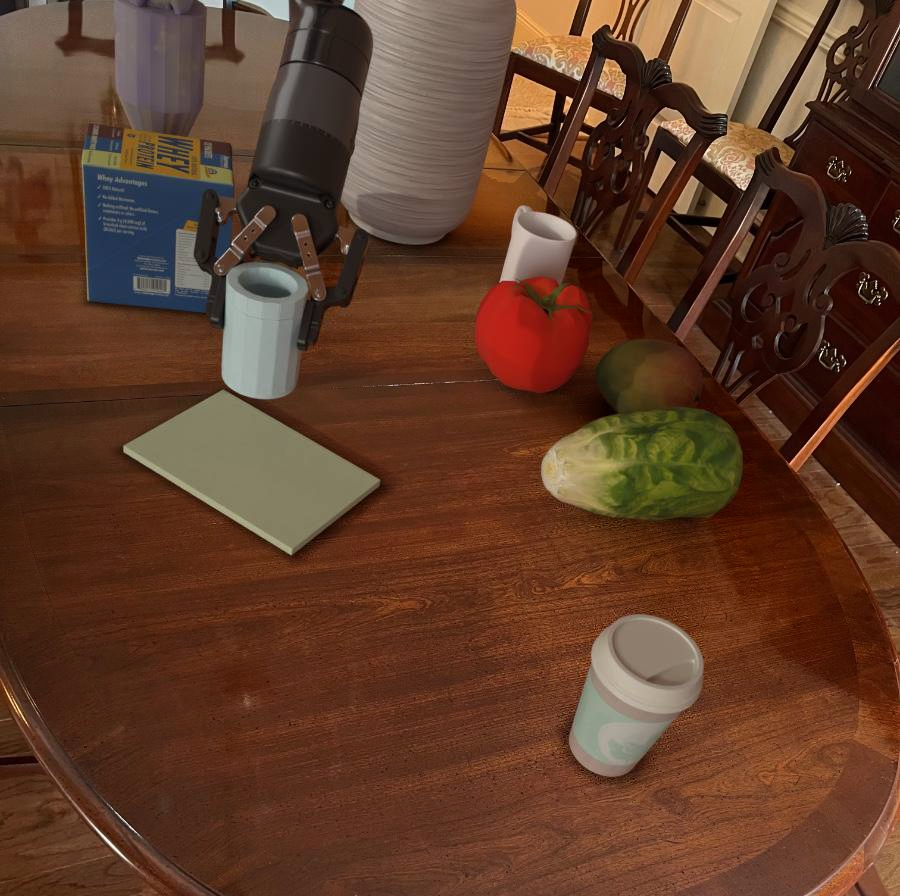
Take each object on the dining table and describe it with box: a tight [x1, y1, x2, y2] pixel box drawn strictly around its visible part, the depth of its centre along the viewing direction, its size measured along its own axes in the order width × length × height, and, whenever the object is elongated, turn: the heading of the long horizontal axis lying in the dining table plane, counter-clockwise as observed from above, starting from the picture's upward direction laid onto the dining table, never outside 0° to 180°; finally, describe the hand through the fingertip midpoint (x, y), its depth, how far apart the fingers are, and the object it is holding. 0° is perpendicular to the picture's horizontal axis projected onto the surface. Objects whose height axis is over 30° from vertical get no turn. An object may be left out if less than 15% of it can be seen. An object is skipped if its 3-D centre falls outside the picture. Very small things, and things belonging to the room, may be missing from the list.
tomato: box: [474, 276, 593, 394], centre depth 114 cm, size 13×14×12 cm
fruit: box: [594, 338, 703, 414], centre depth 113 cm, size 12×13×10 cm
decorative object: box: [113, 0, 208, 137], centre depth 119 cm, size 10×10×30 cm
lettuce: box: [540, 407, 744, 522], centre depth 100 cm, size 12×21×11 cm, turn 109°
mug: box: [499, 205, 578, 286], centre depth 129 cm, size 12×8×10 cm, turn 19°
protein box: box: [80, 122, 236, 314], centre depth 109 cm, size 10×15×16 cm
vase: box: [340, 0, 518, 246], centre depth 128 cm, size 20×20×34 cm
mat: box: [123, 389, 381, 556], centre depth 95 cm, size 20×14×1 cm
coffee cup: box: [568, 613, 705, 778], centre depth 76 cm, size 8×8×12 cm
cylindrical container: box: [221, 261, 310, 400], centre depth 82 cm, size 6×6×9 cm
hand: (259, 337), depth 80 cm, fingers closed on cylindrical container, 6 cm apart
